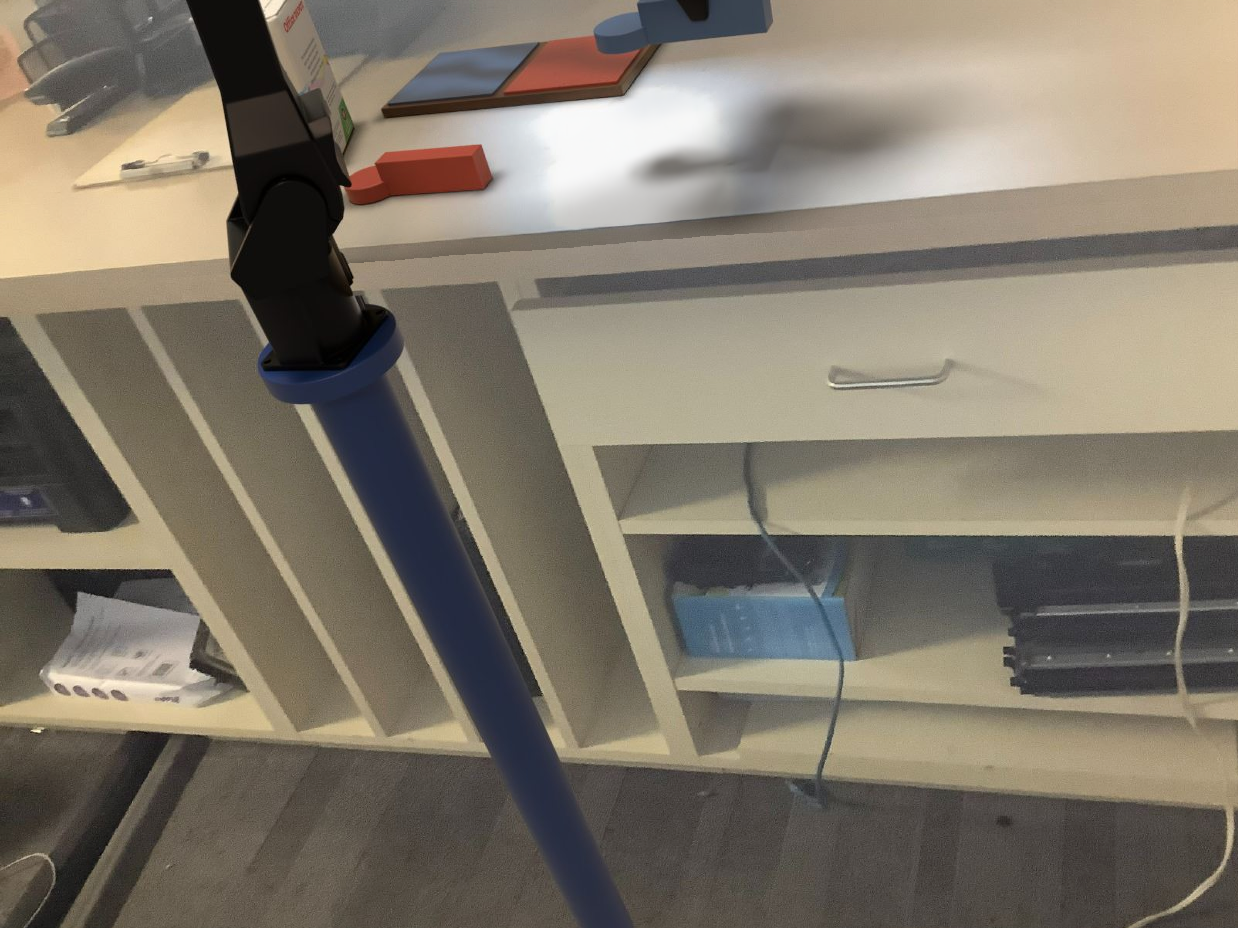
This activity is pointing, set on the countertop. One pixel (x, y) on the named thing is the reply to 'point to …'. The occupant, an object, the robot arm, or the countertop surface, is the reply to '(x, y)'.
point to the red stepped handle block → (421, 173)
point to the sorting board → (518, 76)
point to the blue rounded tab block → (680, 24)
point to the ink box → (306, 60)
